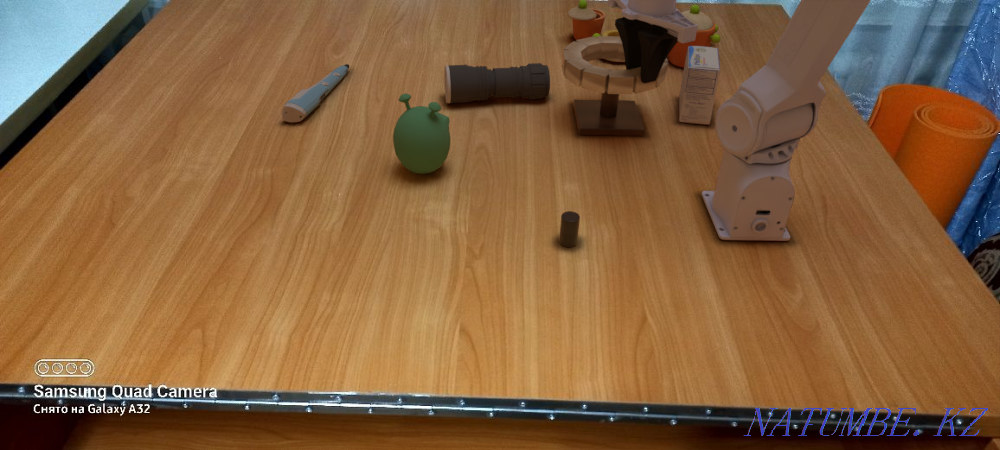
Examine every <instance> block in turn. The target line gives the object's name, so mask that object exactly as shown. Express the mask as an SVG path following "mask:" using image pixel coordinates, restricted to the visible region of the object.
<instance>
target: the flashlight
mask: <svg viewBox="0 0 1000 450" xmlns="http://www.w3.org/2000/svg"><path fill="white" fill-rule="evenodd" d="M443 72H444V73H443V76H444V77H443V80H444V81H443V82H444V83H443V84H444V96H445V103H446V104H465V103H470V102H475V101H478V102H479V101H487V100H489V98H491V97H493V98H519V97H520V98H521V99H522V98H523V99H524V98H526V99H528V100H542V99H543V98H548V97H549V95H550V91H551V75H550V69H549V66H548V65H547V64H544V65H543V63H541V62H536V63H534V62H533V63H528V64H527V65H520V66H510V67H493V68H492V69H491V68H488V67H487V66H486V65H483V66H482V65H479V66H478V65H476V66H472V65H468V64H453V65H452V64H449V65H446V64H445V65H444V69H443Z"/></svg>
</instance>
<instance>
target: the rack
mask: <svg viewBox="0 0 1000 450" xmlns="http://www.w3.org/2000/svg"><path fill="white" fill-rule="evenodd" d="M600 98H601V99H573V102H572V103H573V105H572V106H573V111H574V117H575V122H576V126H577V131H578V136H620V137H621V136H622V137H623V136H625V137H627V136H628V137H645V131H646V130H645V126H644V123H643V120H642V117H641V115H640V112H639V109H638V106H637V103H636V101H635V100H629V99H628V100H625V99H621V100H620V94H608V93H607V91H606V92H605V93H601V97H600Z"/></svg>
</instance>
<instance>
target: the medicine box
mask: <svg viewBox="0 0 1000 450" xmlns="http://www.w3.org/2000/svg"><path fill="white" fill-rule="evenodd" d="M719 52H720V51H719V48H717V47H711V46H709V47H704V46H688V49H687V54H686V60H685V66H684V68H683V73H682V78H681V84H680V89H679V98H678V100H679V101H678V113H679V114H678V115H679V116H678V122H679V123H685V124H696V125H703V126H704V125H706V126H709V125H710V124H711V122H712V121H711V120H712V114H713V110H714V103H715V99H716V98H715V97H716V93H717V89H718V83H719V79H720V72H721V65H720V64H721V63H720V53H719Z"/></svg>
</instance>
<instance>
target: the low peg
mask: <svg viewBox="0 0 1000 450" xmlns="http://www.w3.org/2000/svg"><path fill="white" fill-rule="evenodd" d="M580 219H581V216H580V214H579V213H577V212H576V211H572V210H571V211H570V210H568V211H564V212H562V213H561V216H560V224H559V225H560V226H559V227H560V228H559V238H558V242H559V244H560V245H561V246H563V247H565V248H573V247H575V246H576V245H577V244H578V239H579V229H580V228H579V227H580V221H581V220H580Z"/></svg>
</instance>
